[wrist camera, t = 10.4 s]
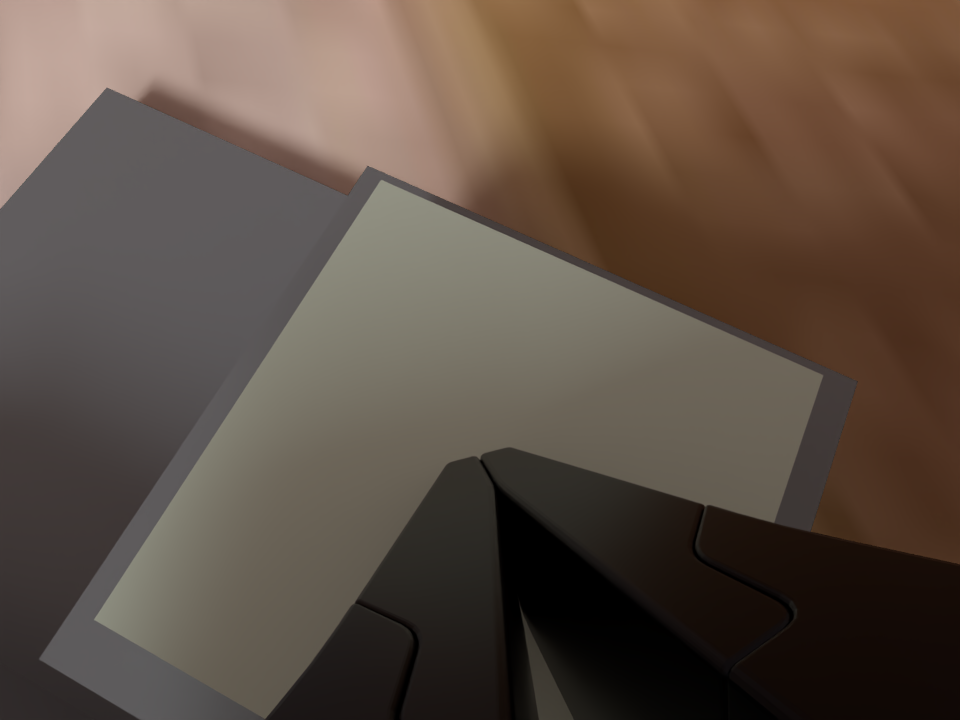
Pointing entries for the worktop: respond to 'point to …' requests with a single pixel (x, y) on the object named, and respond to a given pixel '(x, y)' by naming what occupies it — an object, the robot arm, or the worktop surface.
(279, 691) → the grey-green block
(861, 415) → the worktop surface
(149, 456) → the board
